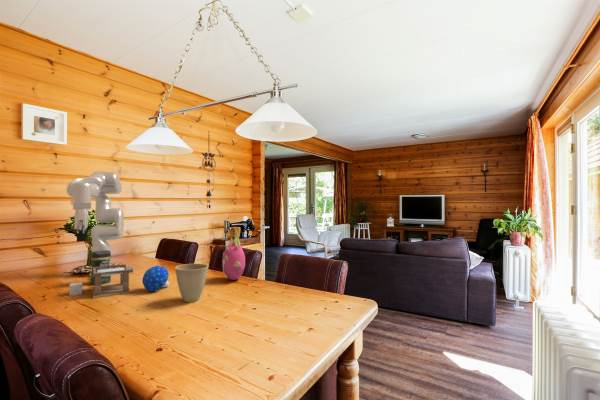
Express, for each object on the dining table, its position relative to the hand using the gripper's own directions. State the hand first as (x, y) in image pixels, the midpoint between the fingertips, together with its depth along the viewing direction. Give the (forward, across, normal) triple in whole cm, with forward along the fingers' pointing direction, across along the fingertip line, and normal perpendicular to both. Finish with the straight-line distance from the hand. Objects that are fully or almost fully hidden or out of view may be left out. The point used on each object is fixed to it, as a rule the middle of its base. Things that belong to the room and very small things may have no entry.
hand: (81, 240), depth 156 cm
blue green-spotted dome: (+27, +11, +34) cm, 45 cm away
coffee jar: (+27, -19, +8) cm, 34 cm away
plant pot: (+27, +37, +47) cm, 66 cm away
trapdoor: (+18, +2, +15) cm, 23 cm away
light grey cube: (+27, -1, -2) cm, 27 cm away
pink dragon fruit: (+27, +11, +76) cm, 81 cm away
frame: (+27, +2, +13) cm, 30 cm away
